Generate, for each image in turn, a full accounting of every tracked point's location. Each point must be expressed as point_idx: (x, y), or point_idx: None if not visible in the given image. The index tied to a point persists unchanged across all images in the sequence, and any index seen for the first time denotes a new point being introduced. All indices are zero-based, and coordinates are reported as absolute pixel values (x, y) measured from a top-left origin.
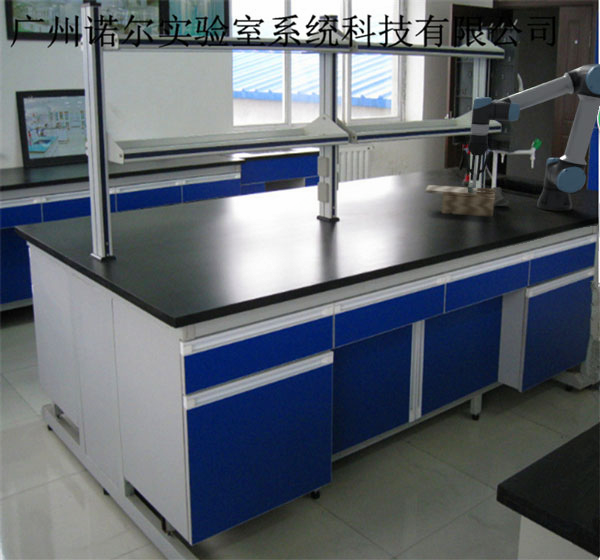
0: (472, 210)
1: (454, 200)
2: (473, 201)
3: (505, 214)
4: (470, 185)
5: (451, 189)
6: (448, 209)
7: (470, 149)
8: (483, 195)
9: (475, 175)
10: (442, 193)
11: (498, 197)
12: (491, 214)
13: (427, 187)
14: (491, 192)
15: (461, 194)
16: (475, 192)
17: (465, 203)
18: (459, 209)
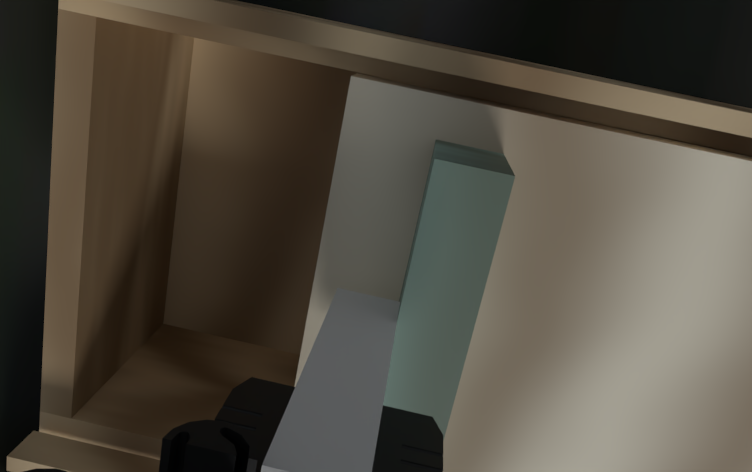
0: (413, 38)
1: (701, 100)
2: (405, 38)
3: (34, 142)
4: (430, 341)
5: (747, 391)
6: (720, 102)
7: None
8: (230, 5)
9: (311, 442)
10: None
11: None
12: None
13: None
14: (87, 443)
15: (628, 87)
16: (352, 184)
17: (521, 62)
18: (581, 73)
